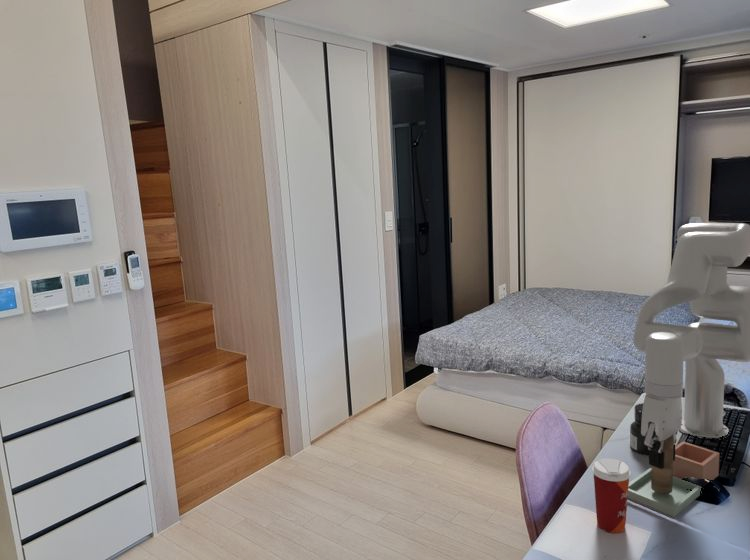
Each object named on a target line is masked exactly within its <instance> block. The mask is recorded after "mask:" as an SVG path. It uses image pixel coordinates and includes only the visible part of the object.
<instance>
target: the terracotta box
mask: <svg viewBox="0 0 750 560" xmlns="http://www.w3.org/2000/svg"><path fill="white" fill-rule="evenodd" d="M719 472H720V452H718V451H714V450H713V449H712V450H711V449H708V448H705V447H703V446H698V445H696V444H692V443H689V442H686V441H681V442H680V443H678V444H676V446H675V460H674V461H673V476H674V477H677V478H680V479H683V478H685V477H694V478H701V479H709V480H713V481H714V480H715V479H716V478H718V476H719V475H720V474H719Z"/></svg>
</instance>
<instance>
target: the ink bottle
mask: <svg viewBox="0 0 750 560" xmlns="http://www.w3.org/2000/svg"><path fill="white" fill-rule="evenodd" d="M643 404H644V402H643V403H638V404H636V405H635V406H634V421H633V422H632V423H631V424H630V427H629V428H630V429H629V432H630V434H629V447H630V449H631V450H632V451H633V452H634V453H637V454H641V455H643V456H648V457H649V449H648V446H647V445H645V444H644V441H645V438H646V436H642V434H641V422H642V411H643Z"/></svg>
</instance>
